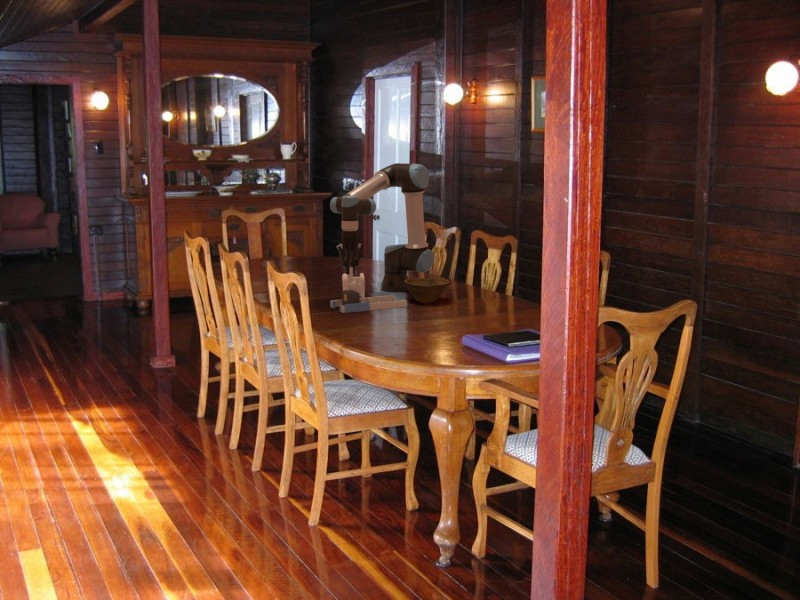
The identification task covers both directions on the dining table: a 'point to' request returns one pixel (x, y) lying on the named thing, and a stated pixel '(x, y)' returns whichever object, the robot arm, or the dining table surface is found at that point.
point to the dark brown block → (349, 297)
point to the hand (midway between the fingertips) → (350, 281)
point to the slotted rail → (370, 304)
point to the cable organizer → (355, 284)
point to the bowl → (426, 288)
